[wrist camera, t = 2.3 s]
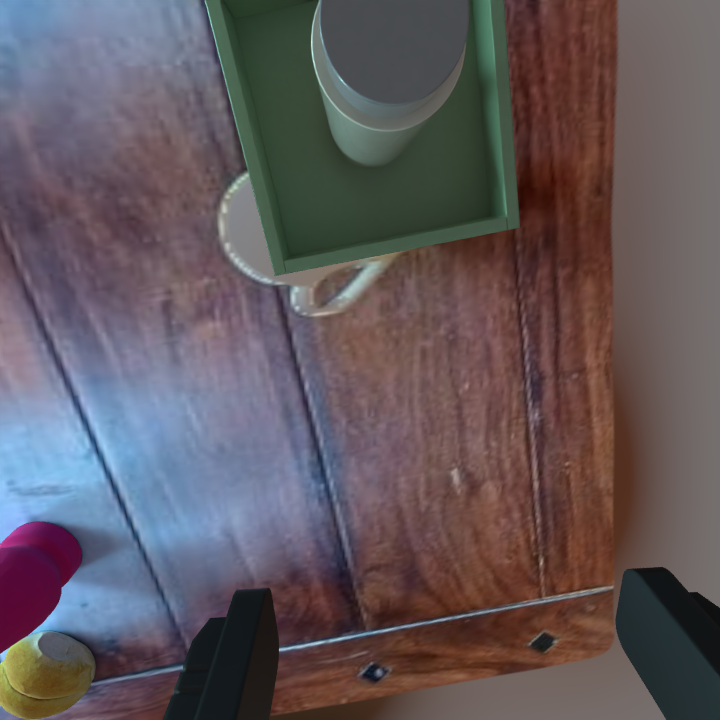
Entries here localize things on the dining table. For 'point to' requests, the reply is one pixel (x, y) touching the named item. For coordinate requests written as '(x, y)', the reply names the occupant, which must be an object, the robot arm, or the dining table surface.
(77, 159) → the dining table surface
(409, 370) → the dining table surface
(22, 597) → the pepper mill
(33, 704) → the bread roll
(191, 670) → the robot arm
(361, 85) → the cylinder
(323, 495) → the dining table surface
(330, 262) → the green square tray
